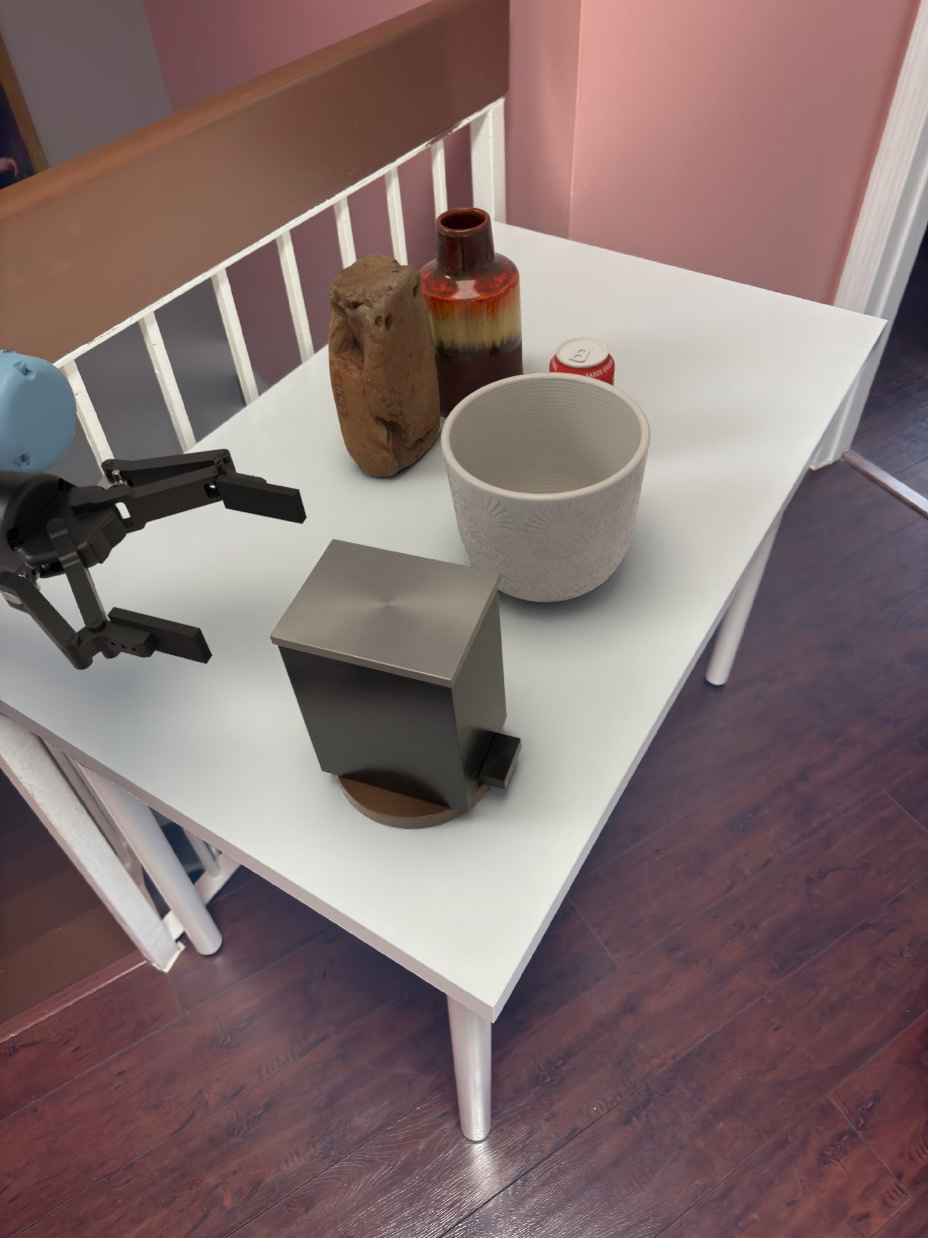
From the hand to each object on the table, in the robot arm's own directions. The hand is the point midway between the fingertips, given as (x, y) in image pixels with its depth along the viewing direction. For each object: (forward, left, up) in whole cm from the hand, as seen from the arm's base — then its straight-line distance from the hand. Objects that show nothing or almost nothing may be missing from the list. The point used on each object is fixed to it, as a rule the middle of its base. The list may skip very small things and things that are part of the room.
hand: (255, 572), depth 62 cm
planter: (+26, +7, -18) cm, 32 cm away
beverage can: (+37, +20, -18) cm, 46 cm away
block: (+20, +30, -18) cm, 40 cm away
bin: (+8, -8, -16) cm, 19 cm away
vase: (+32, +35, -18) cm, 51 cm away
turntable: (+7, -7, -18) cm, 20 cm away
